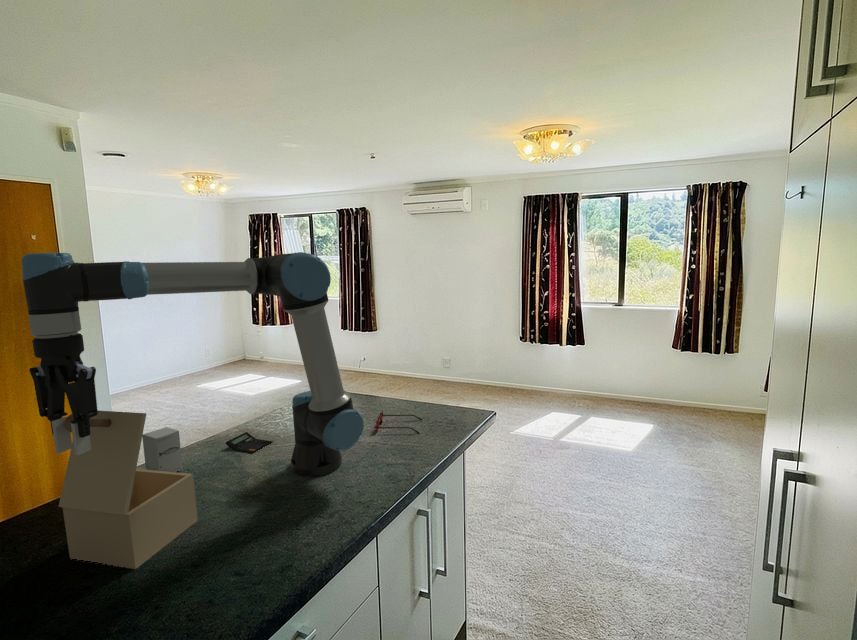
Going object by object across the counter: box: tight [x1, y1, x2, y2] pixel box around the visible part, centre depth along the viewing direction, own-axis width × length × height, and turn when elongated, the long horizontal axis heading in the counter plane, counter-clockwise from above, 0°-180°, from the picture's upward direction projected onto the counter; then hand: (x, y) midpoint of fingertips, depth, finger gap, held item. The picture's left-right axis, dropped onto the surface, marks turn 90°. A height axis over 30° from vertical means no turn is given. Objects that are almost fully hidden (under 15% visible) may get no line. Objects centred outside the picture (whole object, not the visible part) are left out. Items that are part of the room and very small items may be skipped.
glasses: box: [373, 410, 423, 435], centre depth 171 cm, size 14×16×5 cm
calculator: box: [225, 431, 274, 454], centre depth 157 cm, size 9×12×3 cm
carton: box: [62, 468, 198, 570], centre depth 105 cm, size 17×18×12 cm
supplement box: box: [142, 426, 184, 473], centre depth 138 cm, size 7×7×13 cm
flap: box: [58, 410, 147, 515], centre depth 92 cm, size 17×20×10 cm
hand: (73, 451), depth 91 cm, fingers closed on flap, 4 cm apart
